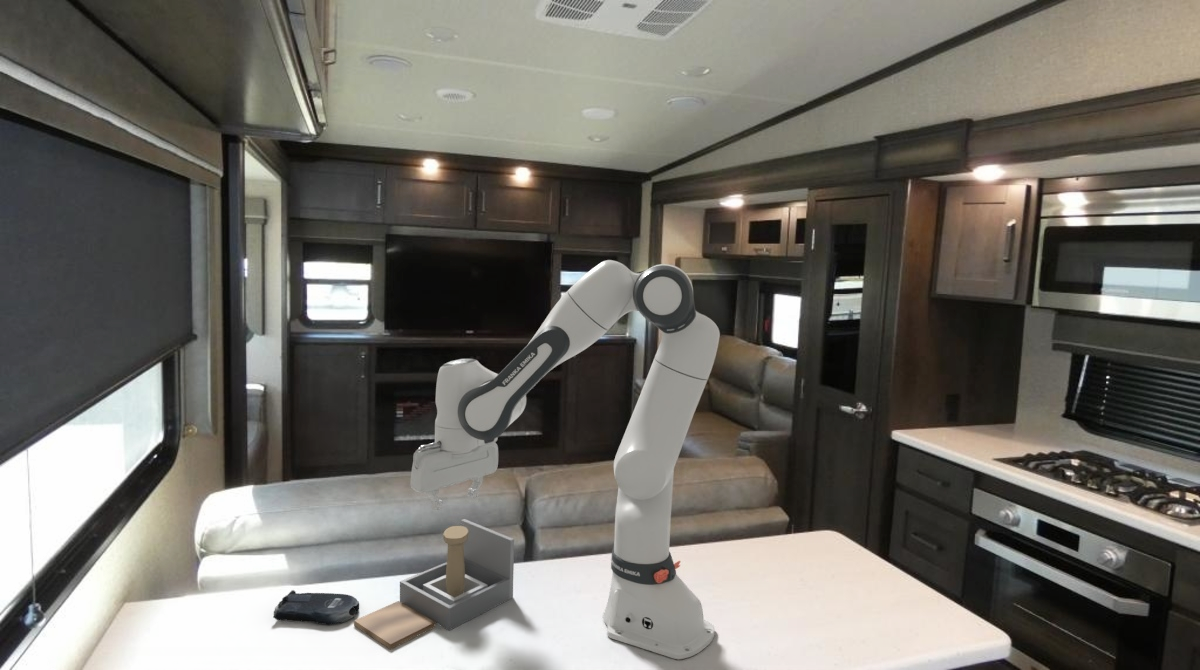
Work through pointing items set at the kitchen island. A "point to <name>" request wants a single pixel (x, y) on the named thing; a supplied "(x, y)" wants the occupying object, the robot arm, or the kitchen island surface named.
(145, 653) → the kitchen island surface
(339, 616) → the electronic device
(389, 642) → the walnut pad
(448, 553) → the handle
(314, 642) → the kitchen island surface
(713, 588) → the kitchen island surface
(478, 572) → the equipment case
